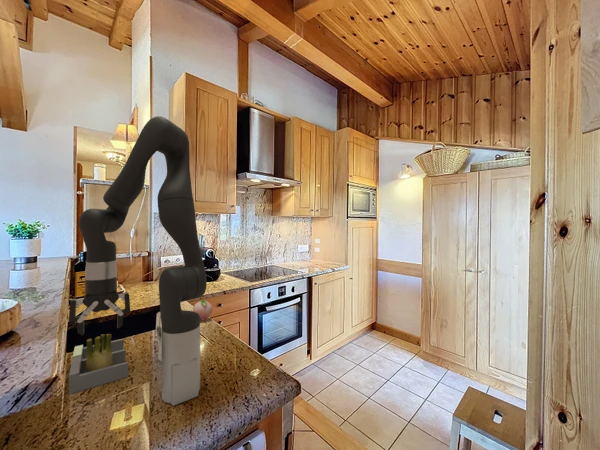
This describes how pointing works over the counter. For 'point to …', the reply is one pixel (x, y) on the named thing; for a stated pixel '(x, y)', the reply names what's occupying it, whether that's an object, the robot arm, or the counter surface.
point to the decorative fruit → (203, 309)
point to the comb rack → (86, 380)
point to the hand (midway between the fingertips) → (101, 330)
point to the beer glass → (159, 335)
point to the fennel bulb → (99, 353)
